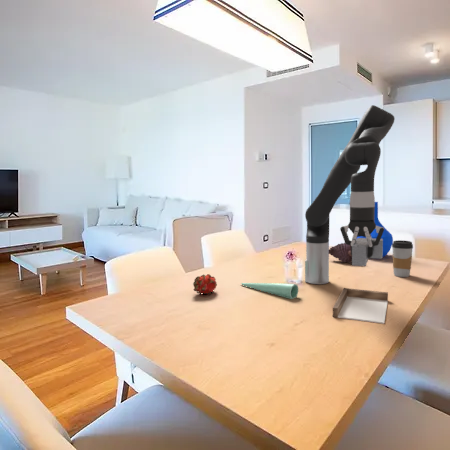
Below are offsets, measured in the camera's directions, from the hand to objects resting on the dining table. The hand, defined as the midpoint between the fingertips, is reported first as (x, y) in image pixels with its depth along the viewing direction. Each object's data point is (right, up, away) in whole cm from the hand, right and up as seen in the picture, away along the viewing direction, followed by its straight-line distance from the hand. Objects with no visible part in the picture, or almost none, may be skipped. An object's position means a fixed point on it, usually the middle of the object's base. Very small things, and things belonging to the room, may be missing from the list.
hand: (361, 257), depth 120 cm
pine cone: (+17, -9, +69) cm, 72 cm away
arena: (0, -17, +2) cm, 17 cm away
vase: (+37, -7, +80) cm, 89 cm away
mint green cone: (-29, -16, +24) cm, 41 cm away
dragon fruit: (-53, -17, +24) cm, 60 cm away
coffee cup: (+33, -12, +40) cm, 53 cm away
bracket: (+1, -1, -2) cm, 2 cm away
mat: (+1, -17, +1) cm, 17 cm away
